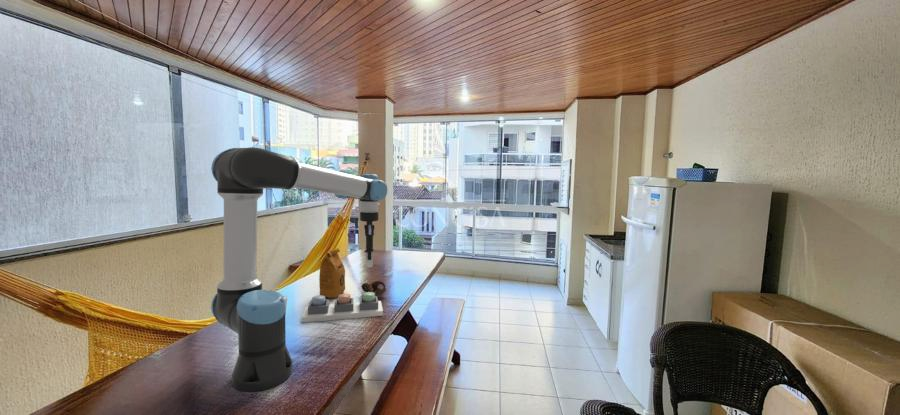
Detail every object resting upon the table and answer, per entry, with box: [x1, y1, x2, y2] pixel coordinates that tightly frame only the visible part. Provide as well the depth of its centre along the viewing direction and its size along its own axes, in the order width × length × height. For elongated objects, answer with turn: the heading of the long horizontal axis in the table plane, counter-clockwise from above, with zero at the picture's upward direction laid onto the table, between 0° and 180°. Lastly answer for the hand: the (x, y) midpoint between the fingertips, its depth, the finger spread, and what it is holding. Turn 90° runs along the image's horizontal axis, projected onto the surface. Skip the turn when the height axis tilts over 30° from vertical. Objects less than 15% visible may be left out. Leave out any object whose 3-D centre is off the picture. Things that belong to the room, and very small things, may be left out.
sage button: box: [362, 291, 375, 303], centre depth 144 cm, size 5×5×3 cm
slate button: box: [311, 294, 326, 306], centre depth 139 cm, size 5×5×3 cm
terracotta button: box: [337, 293, 352, 304], centre depth 142 cm, size 5×5×3 cm
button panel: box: [301, 296, 384, 323], centre depth 142 cm, size 31×12×5 cm, turn 106°
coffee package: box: [318, 248, 346, 299], centre depth 163 cm, size 10×12×22 cm
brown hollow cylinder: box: [361, 280, 387, 298], centre depth 164 cm, size 12×10×8 cm
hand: (369, 266), depth 143 cm, fingers closed
